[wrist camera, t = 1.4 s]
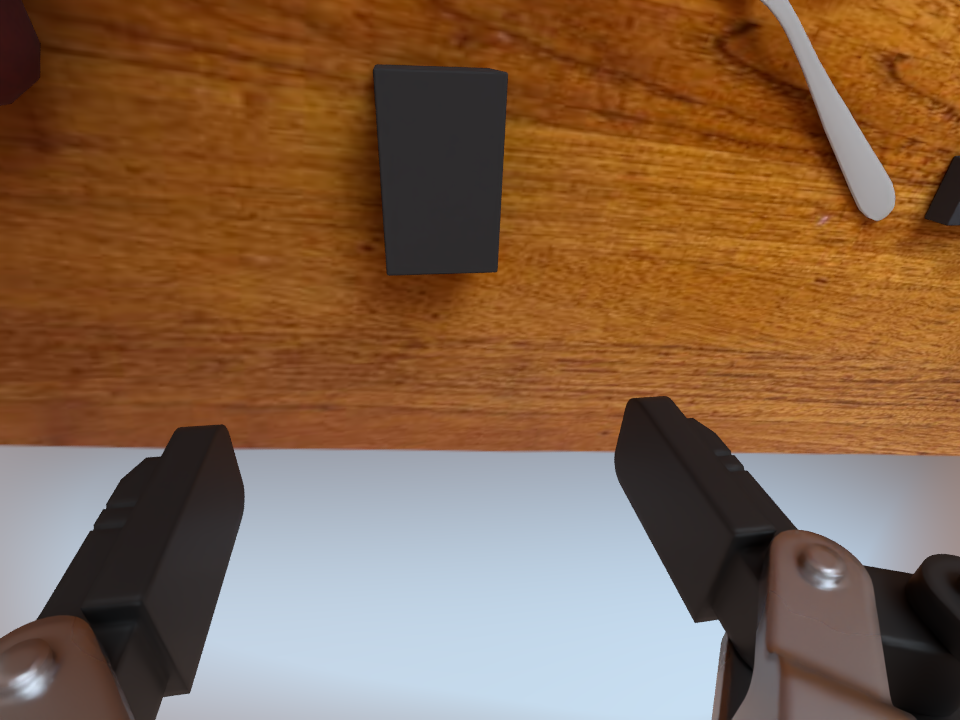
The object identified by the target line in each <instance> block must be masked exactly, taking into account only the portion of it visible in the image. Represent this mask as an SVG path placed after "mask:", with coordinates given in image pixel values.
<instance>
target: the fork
mask: <svg viewBox="0 0 960 720" xmlns="http://www.w3.org/2000/svg"><path fill="white" fill-rule="evenodd" d="M760 1H761V2H762V3H764V4H765V5H766V6H767V7H768V8H769V9H770V11H771V12H772V13H773V14H774V15H775V17H776V18H777V20H778V21H779V23H780V24H781V26H782V28H783V29H784V31H785V33H786V35H787V37H788V39H789V41H790V43H791V45H792V48H793V50H794V52H795V55H796V57H797V59H798V62H799V64H800V66H801V69H802V71H803V74H804V76H805V79H806V82H807V84H808V87H809V90H810V92H811V95H812V98H813V100H814V103H815V106H816V109H817V111H818V114H819V117H820V120H821V122H822V125H823V128H824V131H825V133H826V135H827V138H828V140H829V142H830V144H831V147H832V149H833V151H834V154H835V156H836V158H837V161H838V163H839V166H840V168H841V170H842V173H843V175H844V177H845V180H846V182H847V185H848V187H849V189H850V192H851V194H852V196H853V198H854V200H855V202H856V204H857V206H858V209H859V210H860V211H861V212H862V213H863V214H864V215H865V216H866V217H867V218H871V219H873V220H876V221H878V220H882V219H883V218H885V217H886V216H887V215H888V214H889V213H890V212H891V211H892V209H893V208H894V206H895V193H894V189H893V184H892V182H891V180H890V178H889V177H888V175H887V173H886V171H885V170H884V168H883V166H882V165H881V163H880V161H879V160H878V158H877V156H876V155H875V153H874V152H873V150H872V148H871V147H870V145H869V144H868V142H867V140H866V139H865V137H864V135H863V134H862V132H861V130H860V129H859V127H858V125H857V124H856V122H855V120H854V119H853V117H852V115H851V113H850V111H849V110H848V108H847V107H846V105H845V103H844V102H843V100H842V99H841V97H840V95H839V94H838V92H837V91H836V89H835V87H834V86H833V84H832V82H831V80H830V79H829V77H828V75H827V73H826V72H825V70H824V68H823V66H822V65H821V63H820V61H819V59H818V57H817V55H816V53H815V51H814V49H813V47H812V45H811V43H810V41H809V39H808V37H807V35H806V33H805V31H804V29H803V27H802V25H801V23H800V21H799V19H798V17H797V15H796V13H795V12H794V10H793V8H792V6H791V4H790V3H789V1H788V0H760Z"/></svg>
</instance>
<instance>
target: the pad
mask: <svg viewBox="0 0 960 720" xmlns="http://www.w3.org/2000/svg"><path fill="white" fill-rule="evenodd" d="M373 77H374V92H375V107H376V122H377V137H378V151H379V166H380V181H381V196H382V211H383V225H384V240H385V255H386V270H387V275H422V274H455V273H487V272H497V269H498V251H499V232H500V213H501V195H502V176H503V157H504V139H505V120H506V102H507V83H508V74H507V73H506V72H503V71H499V70H494V69H490V68H468V67H437V66H406V65H375V67H374V69H373Z"/></svg>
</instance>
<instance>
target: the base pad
mask: <svg viewBox="0 0 960 720" xmlns="http://www.w3.org/2000/svg"><path fill="white" fill-rule="evenodd" d="M925 219H928V220H931V221H935V222H938V223H941V224H944V225H960V156H955V157H954V159H953V161H952V163H951V165H950V167H949V169H948V171H947V173H946V175H945V177H944V179H943V181H942V183H941V185H940V187H939V189H938V191H937V193H936V195H935V197H934V199H933V201H932V204H931V206H930V208H929V210H928V212H927V214H926V216H925Z"/></svg>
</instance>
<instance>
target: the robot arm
mask: <svg viewBox="0 0 960 720" xmlns="http://www.w3.org/2000/svg"><path fill="white" fill-rule="evenodd" d="M614 458H615V459H614V460H615V461H614V463H615V470H616V475H617V477H618V480H619V483H620V485H621V486H622V488H623V490H624V492H625V494H626V496H627V498H628V499H629V501H630V503H631V505H632V507H633V509H634V510H635V512H636V514H637V516H638V518H639V520H640V522H641V523H642V525H643V527H644V529H645V531H646V533H647V535H648V537H649V539H650V540H651V542H652V544H653V546H654V548H655V550H656V551H657V553H658V555H659V557H660V559H661V561H662V563H663V564H664V566H665V568H666V570H667V572H668V574H669V575H670V578H671V579H672V581H673V583H674V585H675V587H676V589H677V590H678V592H679V594H680V596H681V598H682V600H683V601H684V603H685V605H686V607H687V609H688V611H689V613H690V615H691V616H692V618H693V620H694V622H695V623H698V622H705V621H712V620H719V621H720V623H721V624H722V626H723V628H724V630H725V631H726V632H725V635H724V636H723V638H722V642H721V648H720V657H719V665H718V673H717V681H716V689H715V698H714V705H713V714H712V720H960V557H959V556H955V555H948V554H937V555H932V556H929V557H928V558H926V559H925V560H924V561H923V563H922V564H921V565H920V567H919V568H918V569H917V570H916V572H915V573H914V574H910V573H905V572H899V571H893V570H887V569H881V568H875V567H869V566H864V565H862V564H861V563H860V561H859V560H858V559H857V558H856V557H855V556H854V555H852V554H851V553H850V552H849V551H848V550H846V549H845V548H844V547H842V546H841V545H839V544H838V543H836V542H834V541H832V540H830V539H828V538H826V537H824V536H822V535H819V534H816V533H813V532H809V531H804V530H798V529H797V528H796V527H795V526H794V525H793V524H792V523H791V521H790V520H789V519H788V518H787V516H786V515H785V514H784V513H783V512H782V511H781V509H780V508H779V507H778V506H777V505H776V504H775V502H774V501H773V500H772V499H771V498H770V497H769V495H768V494H767V493H766V492H765V491H764V490H763V488H762V487H761V486H760V485H759V484H758V482H757V481H756V480H755V479H754V478H753V477H752V475H751V474H750V473H749V472H748V471H745V470H744V466H743V465H742V464H741V463H740V461H739V460H738V459H737V458H736V457H735V456H734V455H731V451H730V450H729V448H728V447H727V446H726V445H725V444H724V443H723V441H722V440H721V439H720V438H719V437H718V436H717V434H716V433H714V432H713V431H711V430H710V429H709V428H707V427H706V426H704V425H703V424H701V423H700V422H698V421H697V420H695V419H694V418H686V417H685V416H684V414H683V413H682V412H681V411H680V409H679V408H678V407H677V406H676V405H675V403H674V402H673V401H672V400H671V399H670V398H669V397H667V396H658V397H643V398H632V399H630V400H629V401H628V403H627V405H626V408H625V412H624V416H623V421H622V425H621V429H620V433H619V438H618V442H617V446H616V450H615V457H614ZM244 497H245V496H244V485H243V481H242V477H241V474H240V470H239V467H238V463H237V460H236V456H235V453H234V449H233V446H232V442H231V439H230V435H229V432H228V430H227V428H226V426H224V425H207V426H192V427H180V428H178V429H176V431H175V432H174V433H173V435H172V437H171V439H170V441H169V443H168V445H167V446H166V448H165V450H164V452H163V454H162V456H161V457H150V458H149V457H148V458H145V459H144V460H143V461H142V462H141V463H140V464H139V465H137V466H136V467H135V468H134V469H133V470H132V471H130V472H129V473H128V474H127V475H126V476H125V477H123V478H122V479H121V480H120V482H119V484H118V485H117V487H116V489H115V490H114V492H113V494H112V495H111V497H110V499H109V500H108V502H107V504H106V509H103V511H102V512H101V514H100V515H99V517H98V519H97V520H96V522H95V524H94V530H93V531H90V532H89V534H88V535H87V537H86V539H85V541H84V542H83V544H82V546H81V547H80V549H79V551H78V552H77V554H76V555H75V557H74V559H73V560H72V562H71V564H70V565H69V567H68V569H67V570H66V572H65V574H64V576H63V577H62V579H61V581H60V582H59V584H58V585H57V587H56V589H55V590H54V592H53V594H52V596H51V597H50V599H49V601H48V602H47V604H46V605H45V607H44V609H43V610H42V612H41V614H40V615H39V617H38V618H37V620H36V621H33V622H31V623H28V624H26V625H24V626H21V627H20V628H17V629H15V630H14V631H12V632H10V633H9V634H7V635H5V636H3V637H2V638H0V720H155V719H156V716H157V713H158V710H159V707H160V704H161V701H162V698H163V697H167V696H174V695H181V694H188V693H190V691H191V688H192V685H193V681H194V678H195V674H196V671H197V668H198V664H199V661H200V658H201V654H202V651H203V647H204V644H205V641H206V637H207V634H208V631H209V627H210V624H211V620H212V617H213V613H214V610H215V607H216V604H217V600H218V597H219V594H220V590H221V587H222V583H223V580H224V577H225V573H226V570H227V567H228V563H229V560H230V556H231V553H232V550H233V546H234V543H235V540H236V536H237V533H238V530H239V526H240V523H241V519H242V516H243V511H244Z"/></svg>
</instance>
